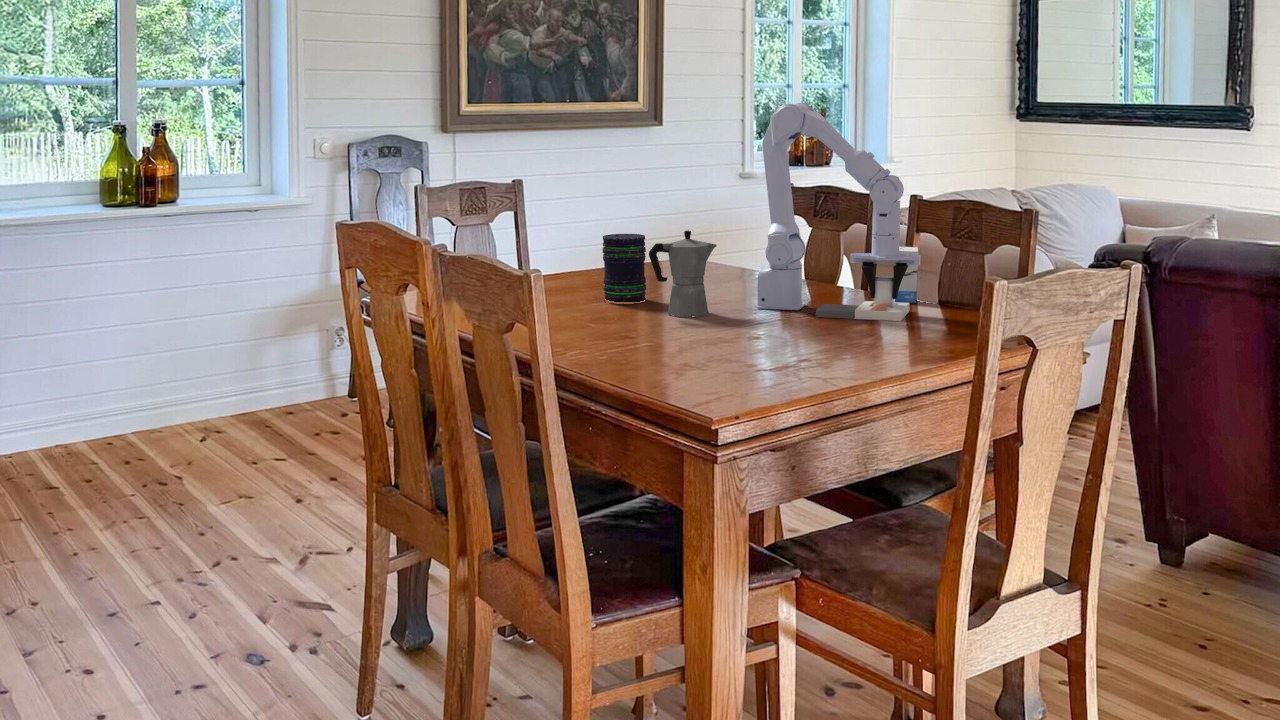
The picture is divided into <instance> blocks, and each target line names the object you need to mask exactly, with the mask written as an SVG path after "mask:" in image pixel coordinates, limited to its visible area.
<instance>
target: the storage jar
mask: <svg viewBox="0 0 1280 720" xmlns="http://www.w3.org/2000/svg"><path fill="white" fill-rule="evenodd" d="M645 240H646V235H644V234H641V233H640V234H639V233H614V234H605V235H603V236H602V241H603V242H602V261H603V263H604V264H603V266H604V277H603V280H602V281H603V286H602V288H603V296H604V298H605V299H606V300H609V301H614V302H640V301H644V300H646V301H647V298H646V294H647V292H646V290H647V284H646V283H647V282H646V280H647V277H646V276H645V273H646V272H645V261H646V257H647V256H646V251H647V248H646V242H645Z"/></svg>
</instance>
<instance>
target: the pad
mask: <svg viewBox="0 0 1280 720" xmlns="http://www.w3.org/2000/svg"><path fill="white" fill-rule="evenodd" d="M860 305H861V304H860ZM860 305H859V304H839V303H838V304H837V303H836V304H835V303H823V304H822V305H820V306H819V307H817V309H815V318H830V319H850V320H855V310H856V309H857V308H858V307H859V306H860Z"/></svg>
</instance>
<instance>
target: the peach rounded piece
mask: <svg viewBox="0 0 1280 720" xmlns="http://www.w3.org/2000/svg"><path fill="white" fill-rule="evenodd" d="M873 311H887V304H886V303H873Z"/></svg>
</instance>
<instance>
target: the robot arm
mask: <svg viewBox="0 0 1280 720" xmlns="http://www.w3.org/2000/svg"><path fill="white" fill-rule="evenodd" d="M800 136H806V137H813V138H816V139H818V140H819V141H820V142H822V144H824V145H825V146H826V147H827V148H828V149H830V151H831V152H833V153H834V154H835V155H836V156H837V157H839V158H840V159H841V160H842V161H843V162H844V167H845V169H844V170H845V171H846V173H847V174H849V175H850V176H851V177H852V178H853V179H854V180H855V181H856V182H857V183H858V184H859V185H860V186H862V188H863V189H864V190H865V191H866V192H867V191H868V192H869V197H870V199H871V201H872V202H873V204H872V205H873V207H872V208H873V209H872V225H871V226H872V228H871V229H872V231H871V233H872V234H871V253H870V252H867V253H865V252H861V253H857V252H855V253H854V252H853V253H852V252H851V253H850V254H849V256H850V257H849V263H850V264H862V266H861V270H862V273H863V275H864V276H865V278H866V281H867V284H868V289H869V293H870V299H875V277H877V267H878V266H877V265H880V264H881V265H894V266H893V267H892V273H893V277H894V286H893V299H894V300H895V299H897V297H898V291H899V287H900V284H901V281H902V279H903V276H904V274H905V272H906V270H907V268H908V265H916V266H918V267H919V266H920V265H921V259H922V258H921V254H918V255H906V254H899V247H900V237H901V233H900V232H901V200H900V199H901V198H902V197H903V195H904V190H905V189H904V188H905V187H904V183H903V182H902V181H901V180H900V178H899V176H897V175H894V174H891V170H889V169H888V168H886V169H885V168H884V167H883V166H882V165H881V164H880V163H879V162H878V161H877V160H875V159H874V158H875V154H873V153H872V152H871V151H868V152H867V150H863V149H862V150H861V149H860V150H857V149H856V148H854V147H853V146H852V145H851V144H850V143H849V142H848V141H847V140H846V138H845V137H843V136H842V134H840V132H839V131H838V130H837V129H835V128H834V126H833V125H831V123H830V122H829V121H828V120H827V119H826V118H825V117H824V116H823V115H822V114H821V113H820V112H818V111H817V110H814V109H813V107H812V106H811V105H809V103H808V104H807V103H805V102H797V103H785V104H783V105H781V106H779V107H777V109H776V110H775V112H774V113H772V115H771V116H770V122H769V125H768V127H767V130H766V132H765V134H764V137H763V139H762V155H763V164H764V173H765V174H764V175H765V182H766V183H765V184H766V191H767V200H768V209H769V218H770V219H769V220H770V226H769V230H768V232H767V245H766V248H765V251H764V252H765V258H766V261H768V263H769V264H768V266H761V267H760V268H759V270H758V273H757V306H756V309H763V310H765V309H767V310H784V311H786V310H787V311H800V309H802V308H803V307H805V306H806V305H807V302H804V301H803V300H802V299H803V298H802V294H803V293H802V291H803V289H802V288H803V287H802V285H803V283H802V282H803V264H802V262H801V260H802V259H803V258H804V256H805V253H806V243H805V241H804V240H803V239H802V237H801V233H800V228H799V225H797V223H796V219H795V210H794V201H793V200H794V199H793V192H792V184H791V182H792V181H791V175H790V174H791V173H790V165H789V164H790V163H789V156H788V153H789V152H788V149H789V147H791V145H792V144H793V143H794V142H795V141H796V140H797V138H800Z"/></svg>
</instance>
